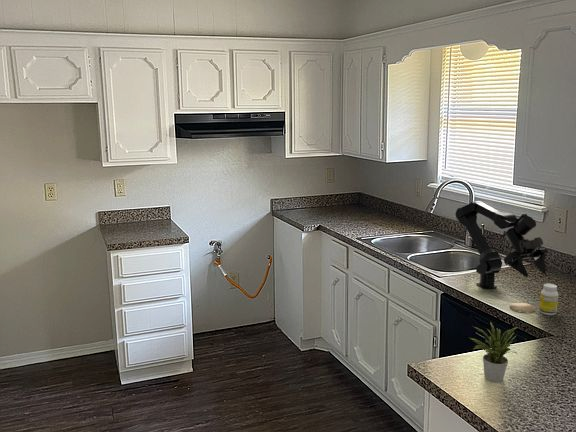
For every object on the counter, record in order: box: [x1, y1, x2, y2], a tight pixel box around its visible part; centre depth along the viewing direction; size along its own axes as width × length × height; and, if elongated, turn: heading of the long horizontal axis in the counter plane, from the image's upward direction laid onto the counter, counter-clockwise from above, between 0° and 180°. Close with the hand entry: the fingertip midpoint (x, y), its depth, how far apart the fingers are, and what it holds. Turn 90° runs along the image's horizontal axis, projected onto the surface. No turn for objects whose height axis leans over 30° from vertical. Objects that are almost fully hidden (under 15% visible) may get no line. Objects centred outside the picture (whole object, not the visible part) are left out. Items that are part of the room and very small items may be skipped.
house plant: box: [469, 321, 519, 383], centre depth 173 cm, size 14×14×16 cm
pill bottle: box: [538, 283, 559, 316], centre depth 224 cm, size 6×6×11 cm
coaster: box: [509, 302, 536, 313], centre depth 229 cm, size 9×9×1 cm
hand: (536, 275), depth 229 cm, fingers open, 9 cm apart
